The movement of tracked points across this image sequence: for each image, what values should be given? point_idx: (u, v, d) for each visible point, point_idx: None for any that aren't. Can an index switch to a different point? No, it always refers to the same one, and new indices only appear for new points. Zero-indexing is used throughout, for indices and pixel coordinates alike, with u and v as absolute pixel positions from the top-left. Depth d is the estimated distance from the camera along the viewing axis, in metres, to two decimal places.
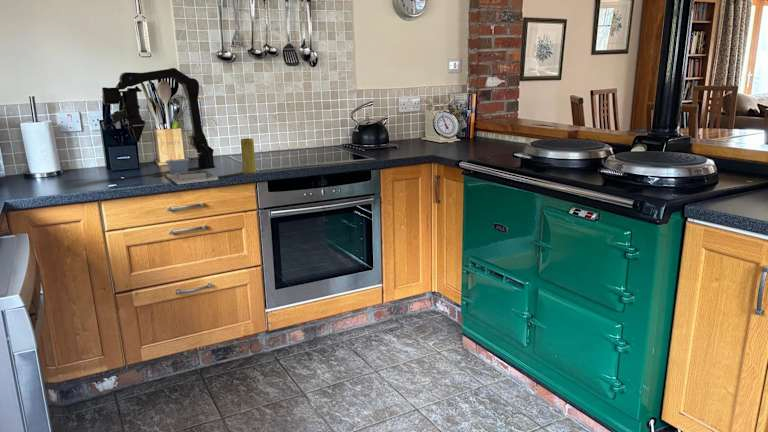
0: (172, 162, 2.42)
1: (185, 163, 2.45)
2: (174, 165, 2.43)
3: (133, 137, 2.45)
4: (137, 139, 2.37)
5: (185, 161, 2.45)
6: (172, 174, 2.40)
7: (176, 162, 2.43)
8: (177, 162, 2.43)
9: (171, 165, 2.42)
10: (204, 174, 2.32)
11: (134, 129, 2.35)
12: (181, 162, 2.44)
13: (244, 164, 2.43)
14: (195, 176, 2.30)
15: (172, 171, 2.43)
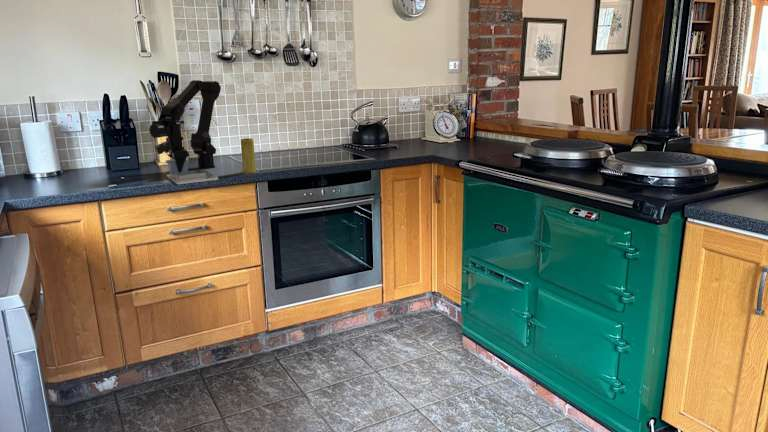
0: (172, 162, 2.42)
1: (185, 163, 2.45)
2: (174, 165, 2.43)
3: None
4: (179, 170, 2.44)
5: (185, 161, 2.45)
6: (172, 174, 2.40)
7: None
8: None
9: (171, 165, 2.42)
10: (204, 174, 2.32)
11: (177, 160, 2.41)
12: None
13: (244, 164, 2.43)
14: (195, 176, 2.30)
15: (172, 171, 2.43)
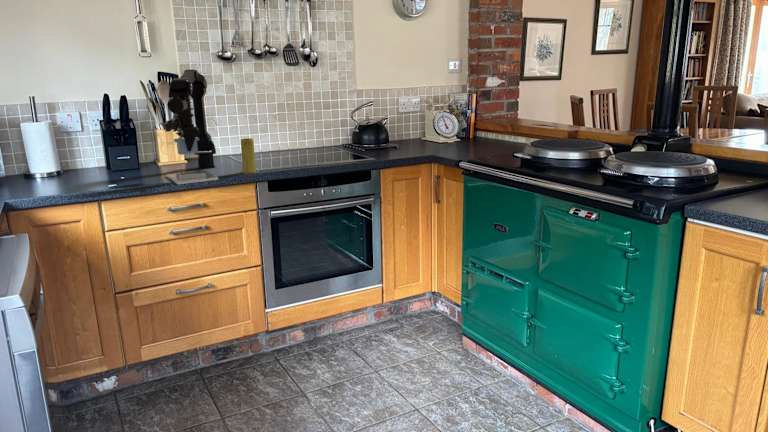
0: (181, 140, 2.26)
1: (194, 142, 2.29)
2: (183, 143, 2.27)
3: None
4: (188, 149, 2.28)
5: None
6: (172, 174, 2.40)
7: None
8: None
9: (180, 143, 2.26)
10: (204, 174, 2.32)
11: (186, 138, 2.25)
12: None
13: (244, 164, 2.43)
14: (195, 176, 2.30)
15: (181, 150, 2.27)
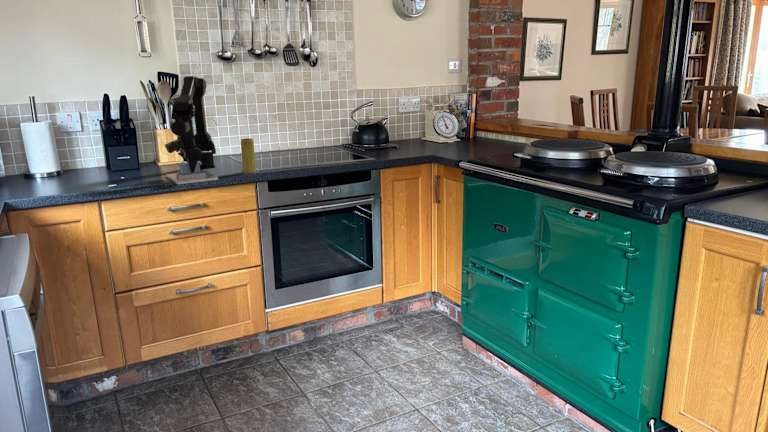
0: (184, 165, 2.28)
1: (197, 166, 2.31)
2: (186, 168, 2.29)
3: None
4: (192, 170, 2.29)
5: (197, 164, 2.31)
6: (172, 174, 2.40)
7: (188, 165, 2.29)
8: None
9: (183, 168, 2.28)
10: (204, 174, 2.32)
11: (189, 160, 2.26)
12: None
13: (244, 164, 2.43)
14: (195, 176, 2.30)
15: (184, 174, 2.29)
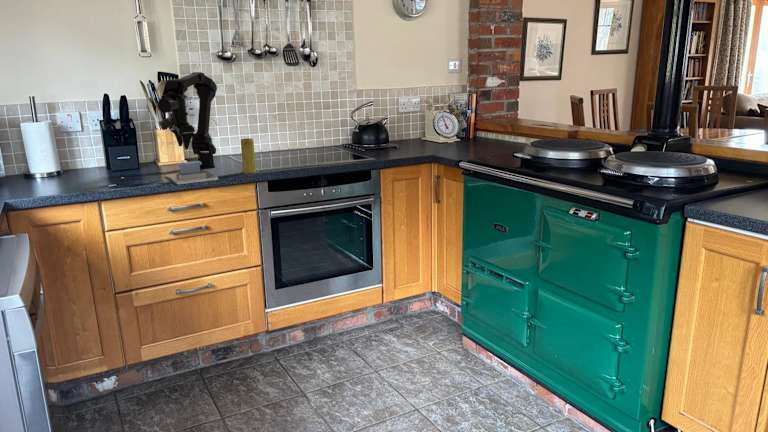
0: (184, 165, 2.28)
1: (197, 166, 2.31)
2: (186, 168, 2.29)
3: (180, 144, 2.44)
4: (186, 146, 2.36)
5: (197, 164, 2.31)
6: (172, 174, 2.40)
7: (188, 165, 2.29)
8: (189, 165, 2.30)
9: (183, 168, 2.28)
10: (204, 174, 2.32)
11: (183, 136, 2.34)
12: (193, 165, 2.30)
13: (244, 164, 2.43)
14: (195, 176, 2.30)
15: (184, 174, 2.29)
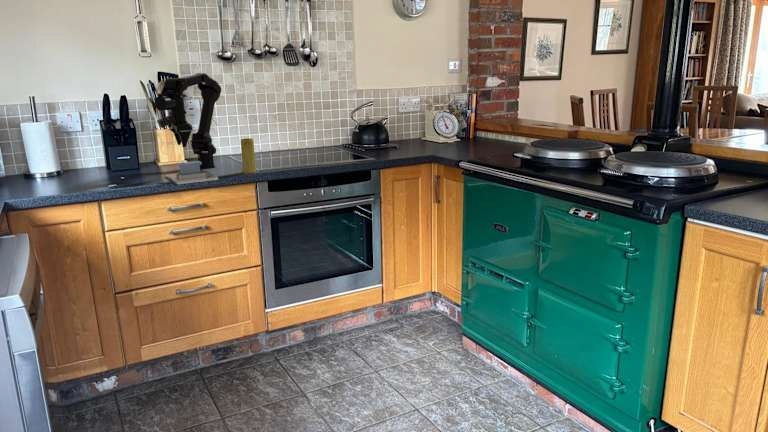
0: (184, 165, 2.28)
1: (197, 166, 2.31)
2: (186, 168, 2.29)
3: (178, 142, 2.46)
4: (183, 145, 2.38)
5: (197, 164, 2.31)
6: (172, 174, 2.40)
7: (188, 165, 2.29)
8: (189, 165, 2.30)
9: (183, 168, 2.28)
10: (204, 174, 2.32)
11: (181, 135, 2.36)
12: (193, 165, 2.30)
13: (244, 164, 2.43)
14: (195, 176, 2.30)
15: (184, 174, 2.29)
